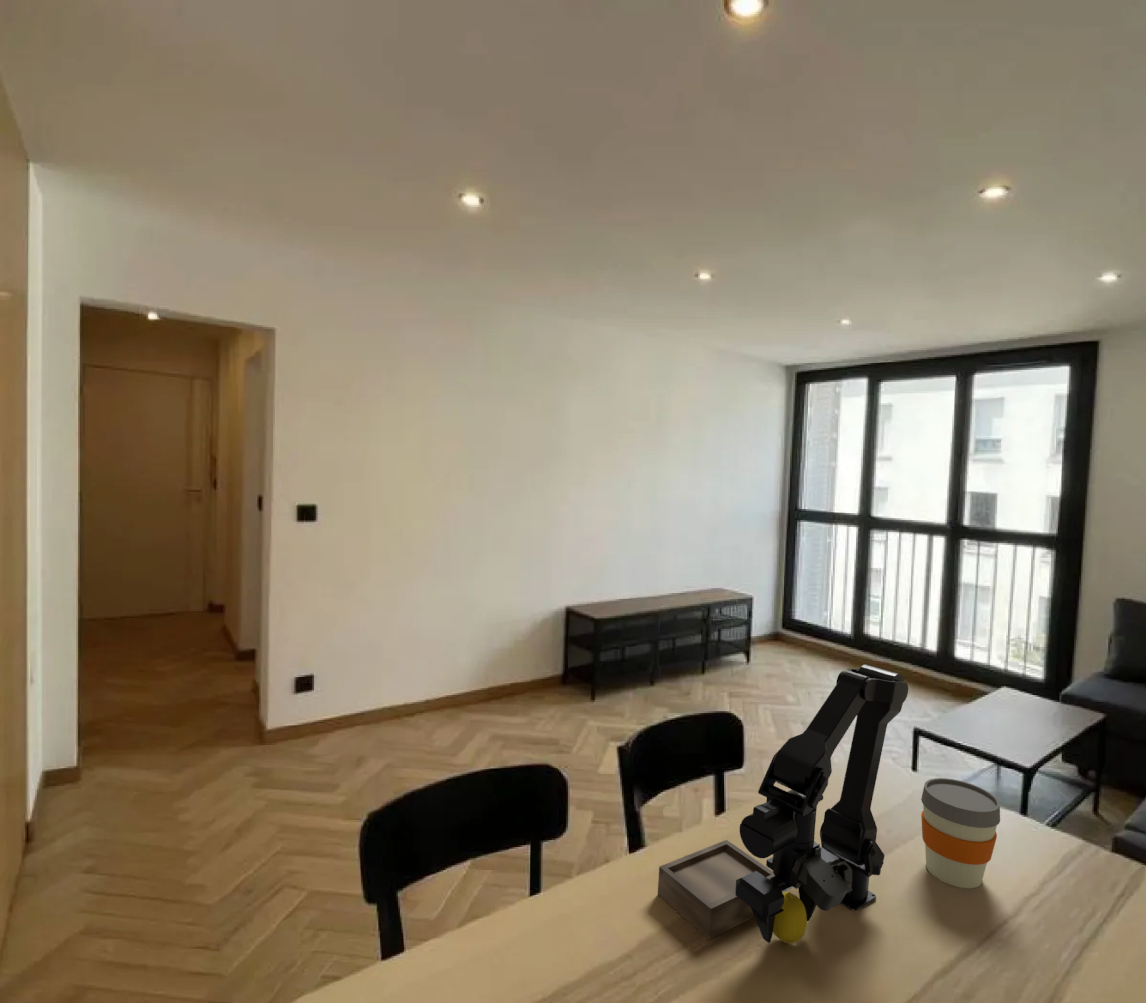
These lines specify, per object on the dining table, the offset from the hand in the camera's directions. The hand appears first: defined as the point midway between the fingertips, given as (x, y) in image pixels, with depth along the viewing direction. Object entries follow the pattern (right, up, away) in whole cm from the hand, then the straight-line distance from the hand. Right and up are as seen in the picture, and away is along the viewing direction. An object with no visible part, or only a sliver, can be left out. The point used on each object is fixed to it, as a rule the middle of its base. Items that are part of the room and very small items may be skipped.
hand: (786, 930), depth 104 cm
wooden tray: (-9, -1, +9) cm, 13 cm away
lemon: (0, -2, 0) cm, 2 cm away
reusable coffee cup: (+37, -2, +20) cm, 42 cm away
